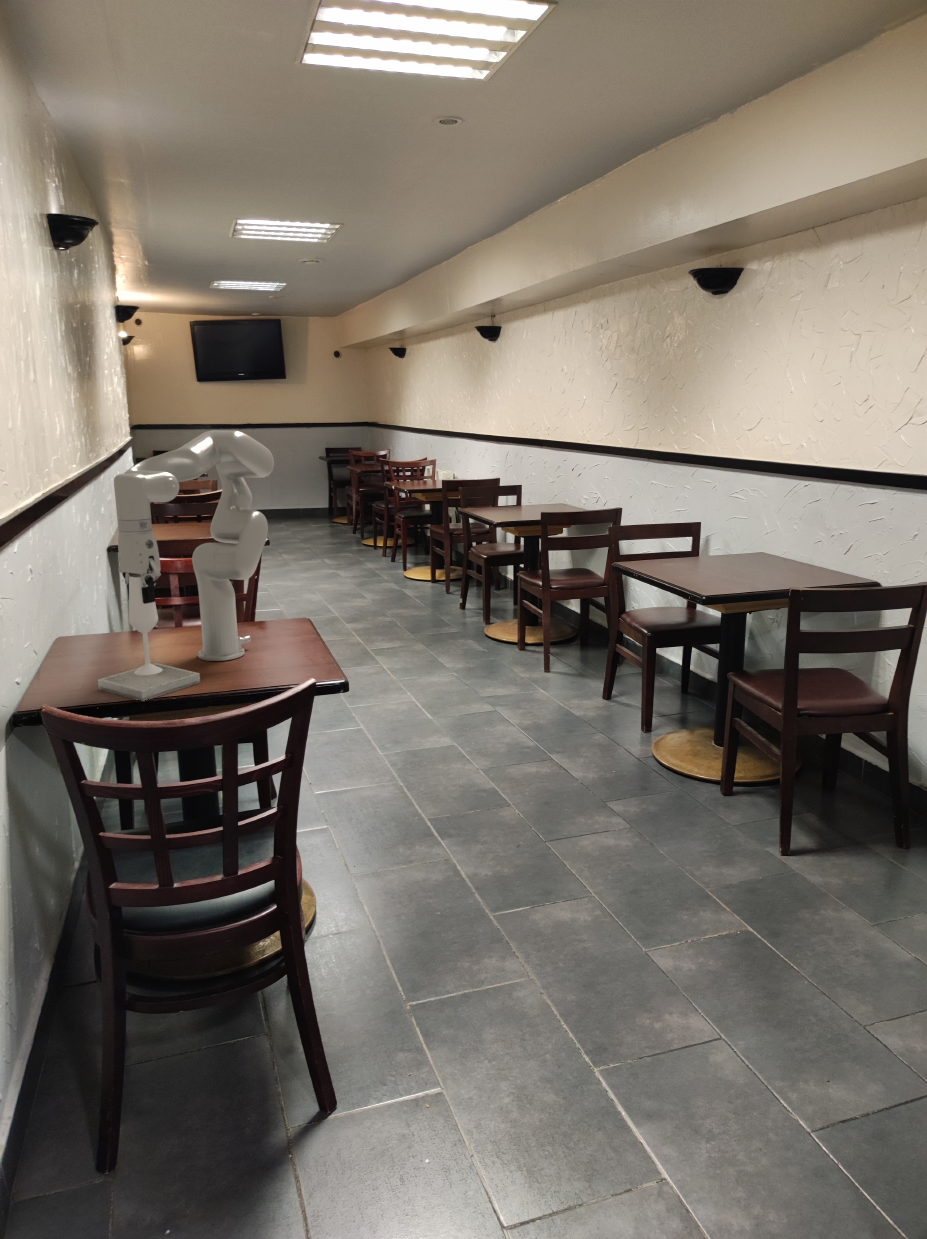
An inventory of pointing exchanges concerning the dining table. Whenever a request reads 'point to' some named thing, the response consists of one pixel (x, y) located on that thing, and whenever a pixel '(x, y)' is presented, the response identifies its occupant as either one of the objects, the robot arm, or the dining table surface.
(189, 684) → the serving tray
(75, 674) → the dining table surface
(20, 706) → the dining table surface
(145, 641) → the champagne flute
